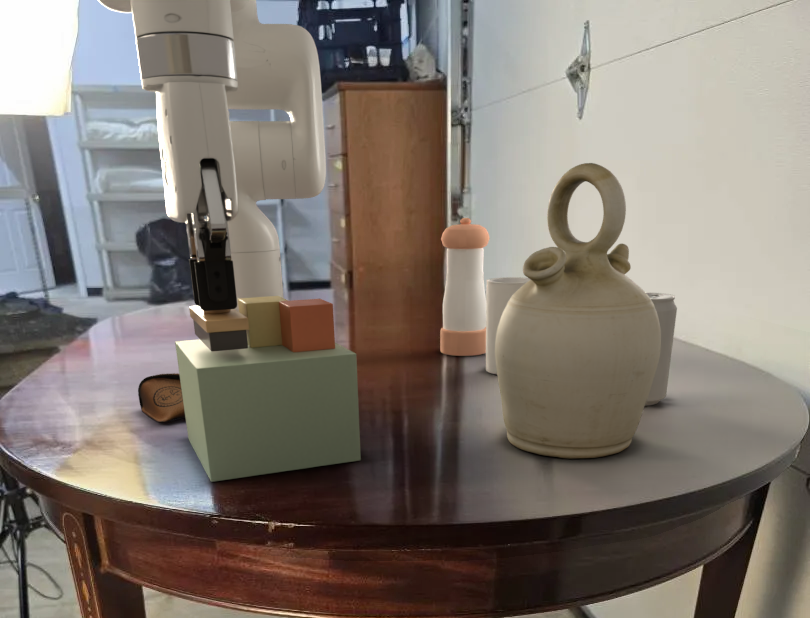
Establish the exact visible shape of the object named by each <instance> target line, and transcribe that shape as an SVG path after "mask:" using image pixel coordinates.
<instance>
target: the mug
mask: <svg viewBox="0 0 810 618" xmlns="http://www.w3.org/2000/svg"><path fill="white" fill-rule="evenodd" d="M530 280H531V279H529V278H528V277H521V276H520V277H518V276H517V277H516V276H508V277H507V276H506V277H493V278H488V279H486V288H485V297H486V324H485V327H486V353H485V370H486V372H487V373H488V374H493V375H497V369H496V358H495V341H496V334H497V329H498V325H499V322H500V319H501V316H502V314H503V311H504V309H505V308H506V306H507V303H508V301H509V300H510V298H511V297H512V295H513V294H514V293H515V292H516V291H517V290H518V289H520V288H521V287H522V286H523V285H524V284H526V283H527V282H528V281H530Z"/></svg>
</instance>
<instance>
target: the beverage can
mask: <svg viewBox="0 0 810 618" xmlns="http://www.w3.org/2000/svg"><path fill="white" fill-rule="evenodd" d="M645 293H646V294H647V295H648V296H649V297H650V299H651V300H652V302H653V304H654V306H655V310H656V312H657V315H658V318H659V323H660V330H661V349H660V357H659V362H658V365H657V369H656V373H655V376H654V379H653V382H652V385H651V389H650V392H649V395H648V398H647V400H646V403H645V406H644V407H646V406H653V405H656V404H658V403H659V402H660V401H661V400H664V399H665V398H666V397H667V393H668V384H669V376H670V369H671V359H672V352H673V346H674V345H673V344H674V337H675V327H676V321H677V320H676V319H677V312H678V307H677V305H676V303H675V299H676V295H675V294H669V293H662V292H645Z"/></svg>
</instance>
